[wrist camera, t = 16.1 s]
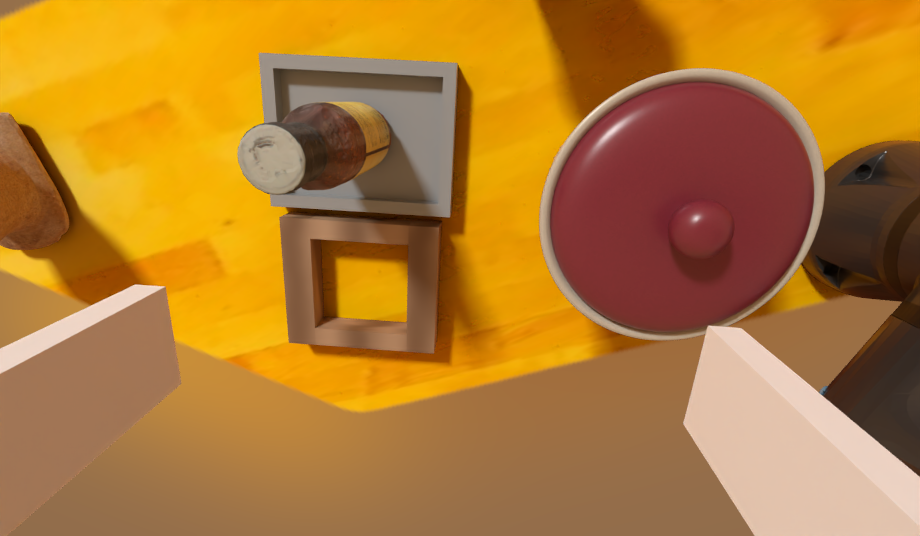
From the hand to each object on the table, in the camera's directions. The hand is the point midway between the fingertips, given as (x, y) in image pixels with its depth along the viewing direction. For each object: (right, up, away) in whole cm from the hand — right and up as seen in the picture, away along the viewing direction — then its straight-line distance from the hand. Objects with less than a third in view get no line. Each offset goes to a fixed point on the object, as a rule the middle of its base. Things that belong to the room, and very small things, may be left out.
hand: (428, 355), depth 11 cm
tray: (-9, +15, +34) cm, 38 cm away
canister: (+16, +11, +34) cm, 39 cm away
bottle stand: (-9, +1, +39) cm, 40 cm away
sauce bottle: (-9, +15, +33) cm, 38 cm away
